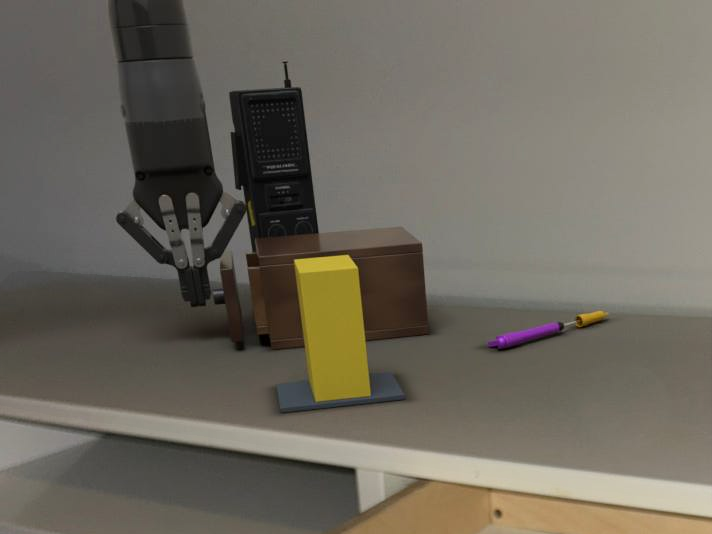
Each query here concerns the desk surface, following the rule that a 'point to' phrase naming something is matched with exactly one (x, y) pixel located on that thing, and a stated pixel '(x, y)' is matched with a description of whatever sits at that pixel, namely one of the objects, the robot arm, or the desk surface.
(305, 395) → the mat
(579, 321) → the purple soldering iron
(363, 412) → the desk surface
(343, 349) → the block
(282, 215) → the portable radio
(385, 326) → the cabinet
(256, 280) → the drawer
